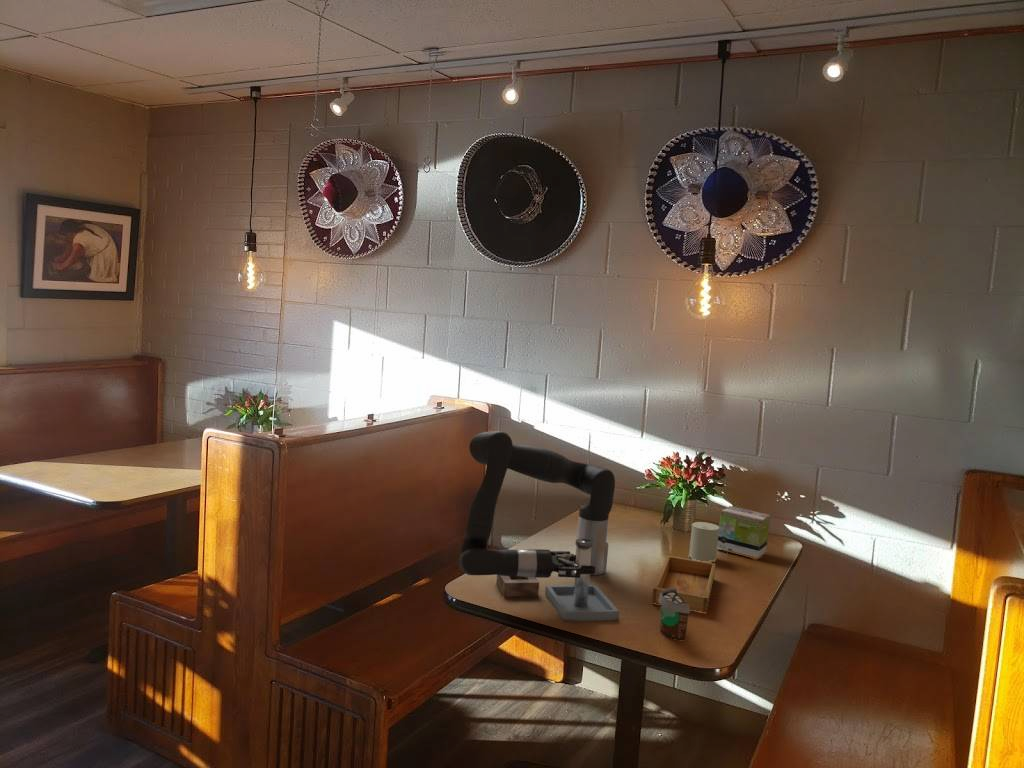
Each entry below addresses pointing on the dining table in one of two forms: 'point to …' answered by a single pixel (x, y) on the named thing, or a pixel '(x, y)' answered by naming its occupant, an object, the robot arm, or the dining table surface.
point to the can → (704, 541)
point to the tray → (686, 581)
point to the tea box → (743, 531)
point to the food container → (673, 614)
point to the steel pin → (583, 582)
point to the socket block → (517, 586)
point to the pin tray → (595, 610)
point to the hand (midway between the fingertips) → (590, 564)
